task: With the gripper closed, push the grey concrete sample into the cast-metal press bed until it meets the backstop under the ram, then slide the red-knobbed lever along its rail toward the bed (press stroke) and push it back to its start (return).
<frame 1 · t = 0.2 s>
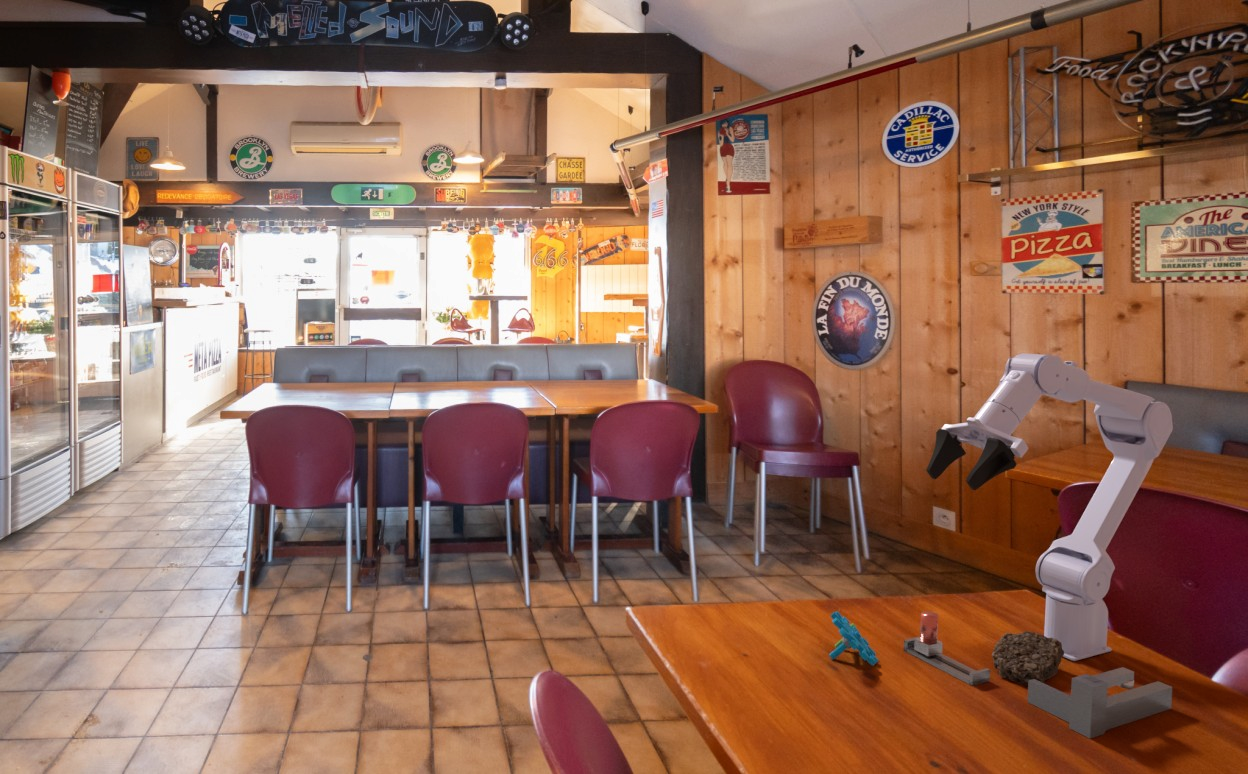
hand: (949, 480, 122), 31 cm above the table, tool tilted 45°, fingers open, 7 cm apart
concrete sample: (1024, 672, 128), on the table
lever: (928, 632, 132), point 4 cm above the table, slide at 0.0 cm
press bed: (1093, 701, 118), on the table
gear: (853, 660, 132), on the table
lever rail: (944, 665, 130), on the table
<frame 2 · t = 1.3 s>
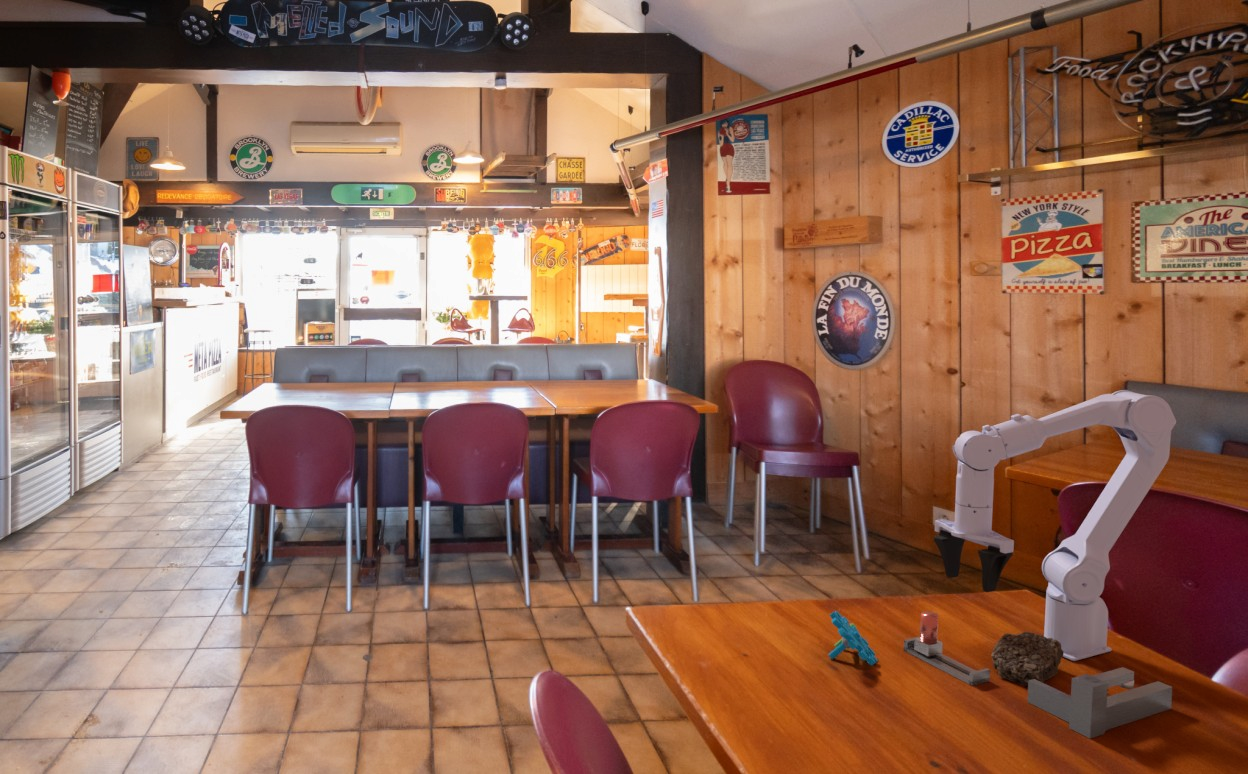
hand: (970, 583, 137), 10 cm above the table, tool pointing down, fingers open, 7 cm apart
nothing on the table moved.
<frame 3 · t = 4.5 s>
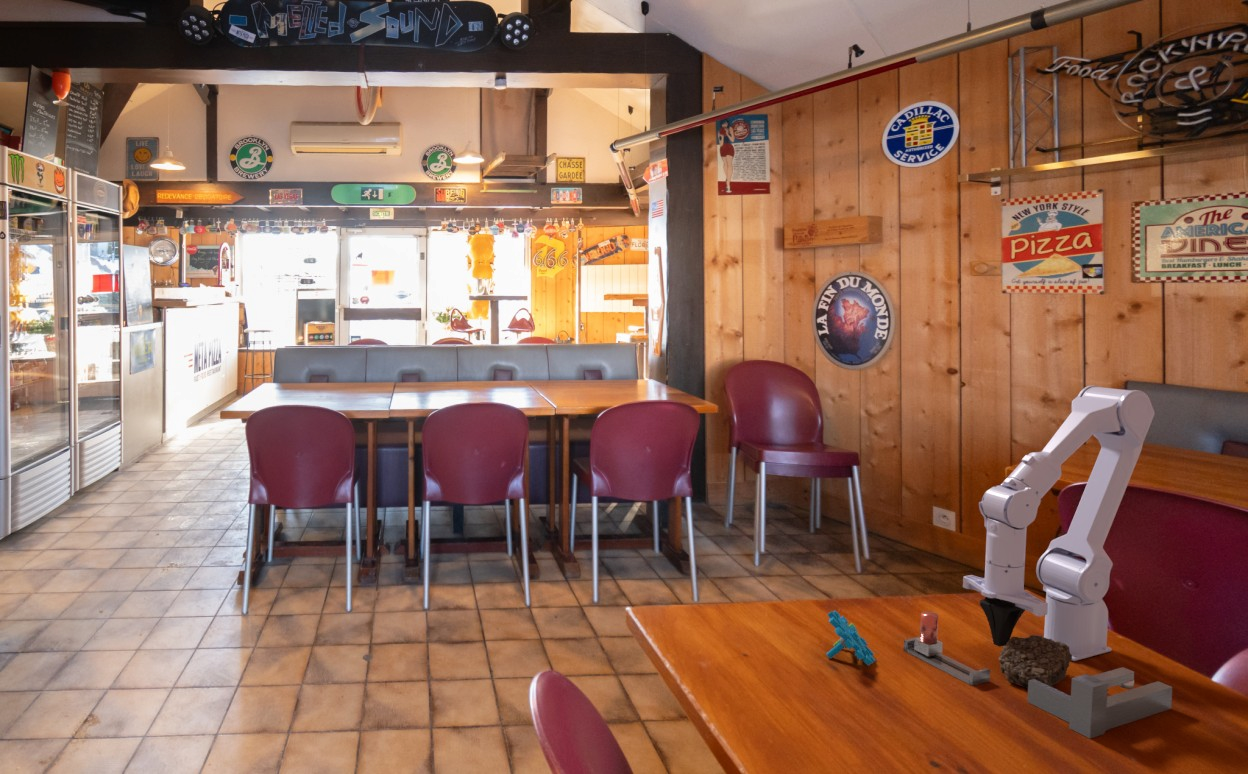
hand: (1001, 644, 132), 2 cm above the table, tool pointing down, fingers closed
concrete sample: (1031, 677, 126), on the table, touching gripper
everything else where it was.
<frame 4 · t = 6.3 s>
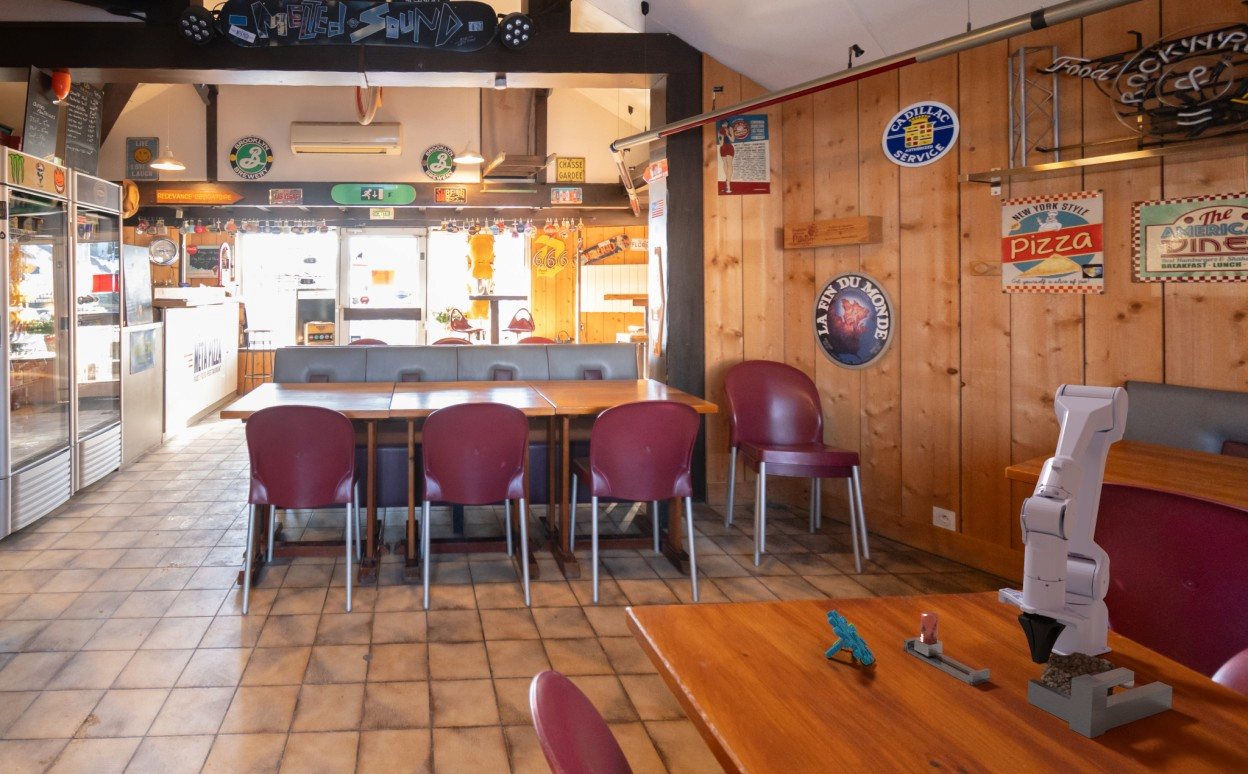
hand: (1040, 661, 125), 2 cm above the table, tool pointing down, fingers closed
concrete sample: (1075, 697, 120), on the table, touching gripper
everything else where it was.
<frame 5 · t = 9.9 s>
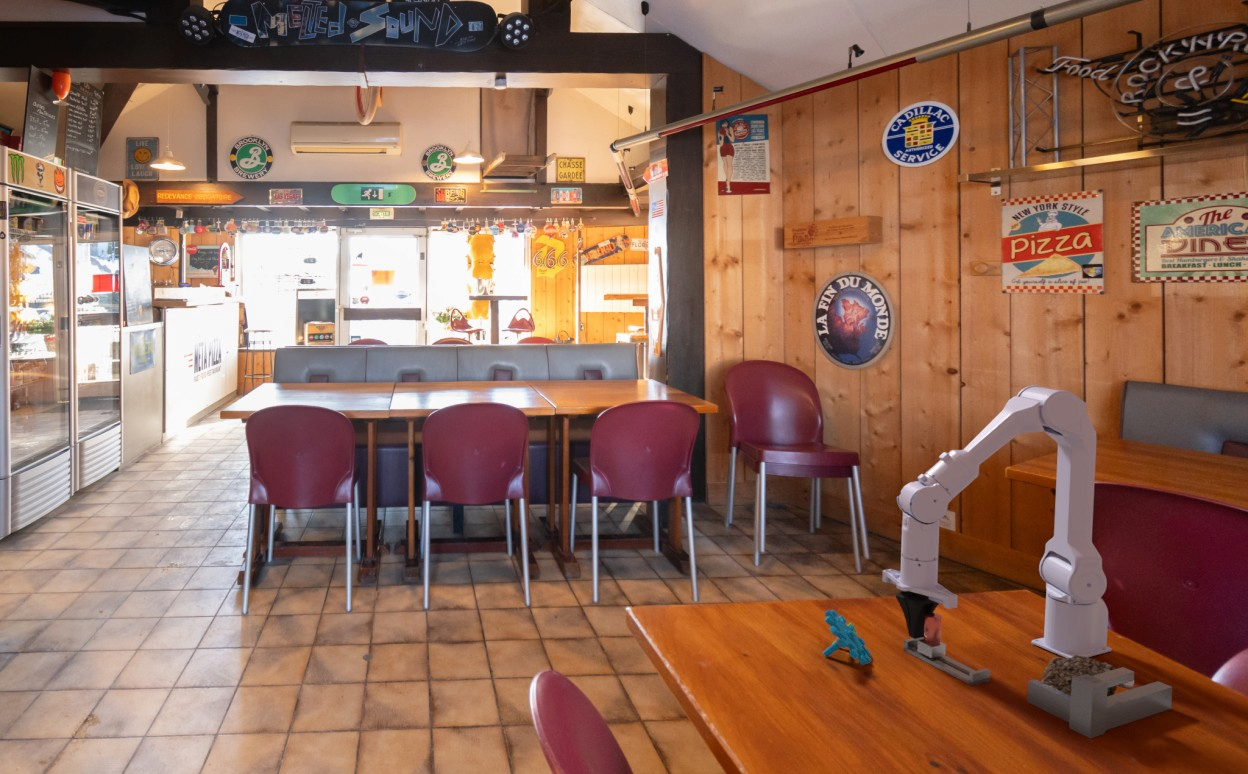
hand: (916, 636, 135), 2 cm above the table, tool pointing down, fingers closed
concrete sample: (1076, 700, 119), on the table
lever: (932, 634, 132), point 4 cm above the table, slide at 0.7 cm, touching gripper
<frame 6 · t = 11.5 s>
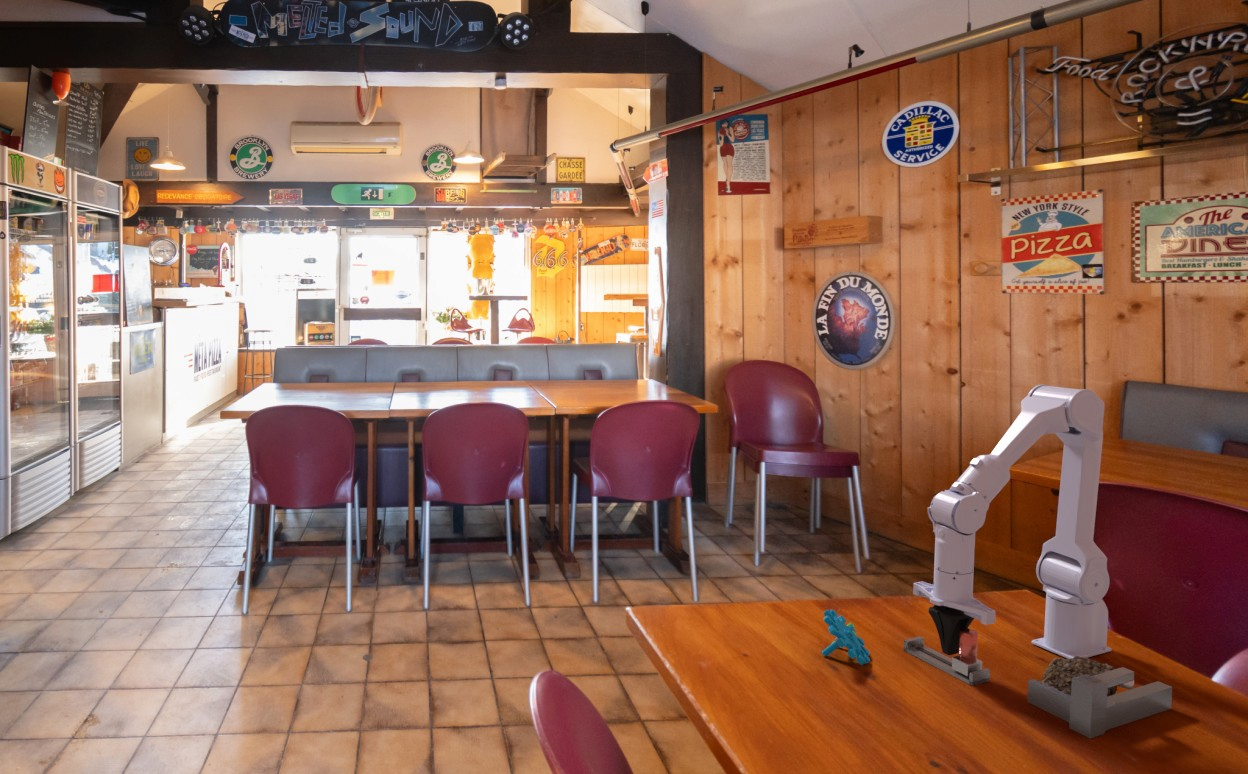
hand: (950, 652, 128), 2 cm above the table, tool pointing down, fingers closed
lever: (967, 651, 125), point 4 cm above the table, slide at 7.8 cm, touching gripper
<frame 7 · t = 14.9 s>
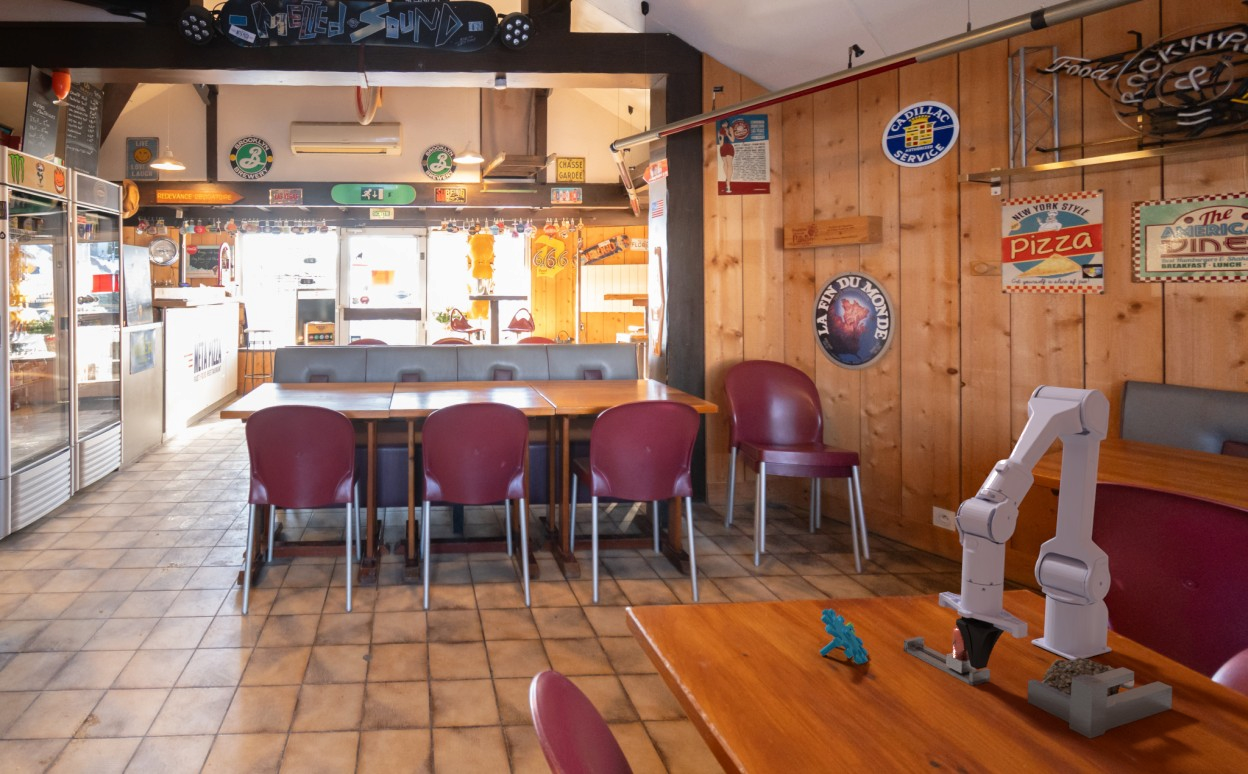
hand: (978, 666, 124), 2 cm above the table, tool pointing down, fingers closed
lever: (961, 648, 126), point 4 cm above the table, slide at 6.6 cm, touching gripper
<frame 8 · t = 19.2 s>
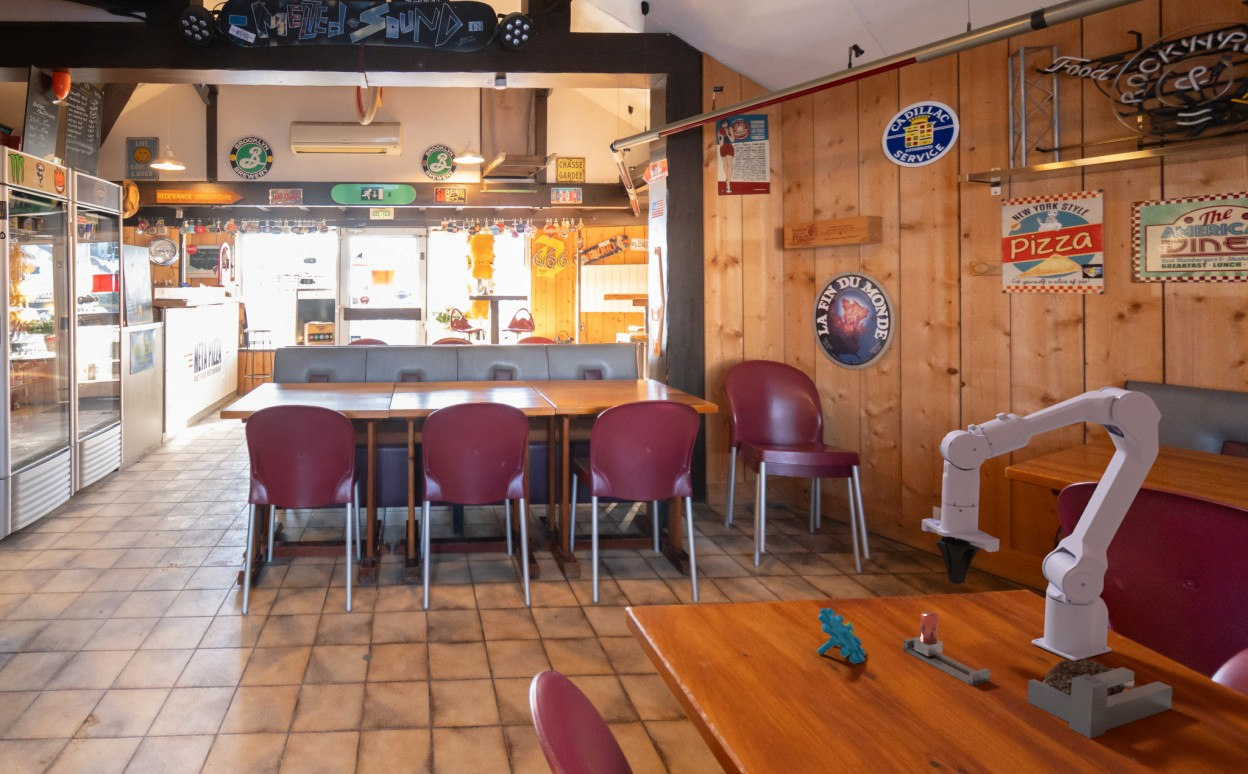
hand: (956, 582, 138), 10 cm above the table, tool pointing down, fingers closed
lever: (928, 632, 132), point 4 cm above the table, slide at 0.0 cm
at the end: concrete sample inside the target area (1.9 cm from its centre), on the table; lever slide at 0.0 cm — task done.
